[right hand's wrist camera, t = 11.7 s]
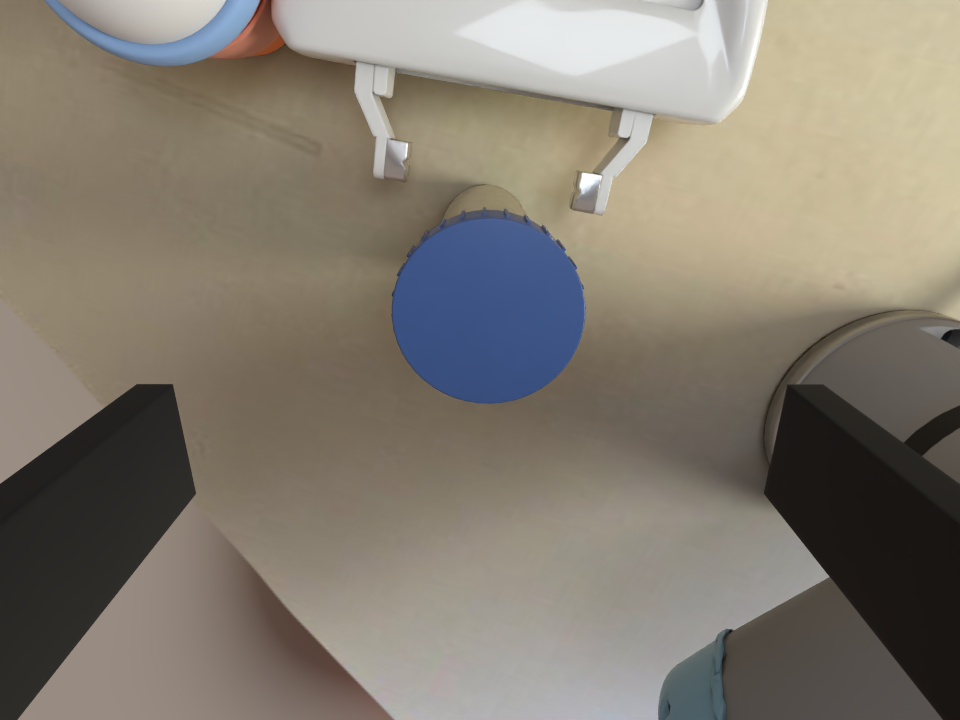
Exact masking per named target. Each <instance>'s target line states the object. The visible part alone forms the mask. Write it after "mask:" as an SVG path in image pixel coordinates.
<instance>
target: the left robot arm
mask: <svg viewBox="0 0 960 720" xmlns="http://www.w3.org/2000/svg"><path fill="white" fill-rule="evenodd" d="M767 3H768V0H271V16H272V21H273V23H274V25H275V27H276V29H277V31H278V33H279V34H280V36H281V37H282V39H283V40H284V42H285V43H286V45H287V46H288V47H289V48H290V49H292V50H294V51H295V52H297V53H299V54H302V55H305V56H307V57H311V58H316V59H321V60H327V61H333V62H338V63H344V64H350V65H355V66H356V70H355V84H354V92H355V95H356V97H357V99H358V102H359V104H360V106H361V109H362V111H363V113H364V116H365V118H366V120H367V123H368V125H369V128H370V130H371V132H372V135H373V136H375V137H376V141H375V153H374V164H373V176H374V177H375V178H380V179H386V180H393V181H400V182H405V181H407V180H408V175H409V167H410V166H409V164H408V162H407V160H408V159H409V158H410V157H411V149H412V142H407V141H402V140H397V139H394V138H395V136H394V133H393V130H392V128H391V125H390V123H389V120H388V118H387V115H386V112H385V110H384V107H383V105H382V102H381V100H380V96H381V97H384V98H391V97H392V96H393V87H394V78H395V73H400V74H406V75H412V76H417V77H423V78H429V79H434V80H440V81H446V82H451V83H457V84H462V85H468V86H474V87H479V88H485V89H491V90H496V91H502V92H508V93H513V94H519V95H524V96H530V97H536V98H541V99H547V100H553V101H558V102H564V103H570V104H575V105H581V106H586V107H592V108H598V109H603V110H609V111H613V112H612V117H611V121H610V126H609V131H608V135H609V137H613V138H619V140H618V141H617V142H616V144H615V145H614V146H613V147H612V149H611V150H610V151H609V152H608V153H607V155H606V156H605V157H604V158H603V160H602V161H601V162H600V163H599V164H598V166H597V167H596V168H595V169H594V171H593V173H590V172H583V171H577V170H576V174H575V178H574V183H573V185H574V187H575V190H574V191H573V192H572V193H571V197H570V204H569V207H570V209H572V210H574V211H580V212H585V213H590V214H597V215H603V213H604V211H605V209H606V205H607V201H608V196H609V192H610V188H611V184H612V179H613V177H617V175H618V174H619V173H620V172H621V171H622V170H623V169H624V167H625V166H626V165H627V164H628V163H629V162H630V161H631V159H632V158H633V157H634V156H635V155H636V154H637V153H638V152H639V150H640V149H641V148H642V147H643V146H644V145H645V144H646V142H647V138H648V135H649V131H650V127H651V123H652V119H653V118H654V119H660V120H665V121H671V122H677V123H683V124H688V125H702V126H704V125H713V124H717V123H719V122H721V121H722V120H723V119H725V118H726V117H727V116H728V115H729V114H730V113H732V112H733V111H734V110H735V109H736V108H737V107H738V106H739V105H740V103H741V102H742V100H743V98H744V96H745V93H746V90H747V87H748V84H749V81H750V77H751V74H752V70H753V67H754V63H755V59H756V55H757V51H758V47H759V43H760V38H761V34H762V29H763V24H764V19H765V14H766V9H767Z"/></svg>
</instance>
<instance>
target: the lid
mask: <svg viewBox="0 0 960 720" xmlns="http://www.w3.org/2000/svg"><path fill="white" fill-rule="evenodd" d="M565 250H566V249H565V248H564V246H563V245H562V244H561V242H560V241H559V240H555V239H554V238H553V237H552V236H551V235H550V233H549V232H548V230H547V229H546V227H545V226H543V225H542V227H540V226H539V225H537V224H536V223H534V222H533V221H531V220H529V218H528V216H527V215H524V217H523V216H520V215H517V214H514V213H511V212H508V210H507V209H504V211H500V210H486V207H483V210H476V211H470V212H466V213H465V210H464V211H462V212H461V214H459V215H457V216H454V217H451V218H449V219H447V220H446V219H445V218H444V219H442V221H441V223H440V224H439V225H437V226H436V227H435V228H433V229H432V230H431V231H428V230H427V231H426V232H425V233H424V235H423V237H422V238H421V241H420V242H419V243H418V244H417V246H414V245H413V247H412V248H411V250H410V251H409V253H408V255H407V257H408V260H407V262H406V263H404V264H403V265H402V267H401V268H400V270H399V272H398V274H397V276H399V277H398V280H397V282H396V286H395V289H394V291H393V293H392V296H393V301H392V321H393V328H394V332H395V336H396V339H397V342H398V345H399V347H400V349H401V351H402V353H403V355H404V357H405V358H406V360H407V362H408V363H409V364H410V366H411V367H412V368H413V369H414V371H415V372H416V373H417V374H418V375H419V376H420V377H421V378H422V379H423V380H425V381H426V382H427V383H429V384H430V385H431V386H433V387H434V388H436V389H437V390H439V391H441V392H443V393H445V394H447V395H449V396H452V397H454V398H457V399H461V400H464V401H468V402H475V403H489V404H490V403H502V402H507V401H512V400H516V399H519V398H522V397H525V396H527V395H529V394H531V393H534V392H536V391H537V390H539V389H540V388H542V387H544V386H545V385H547V384H548V383H549V382H550V381H552V380H553V379H554V378H555V377H556V376H557V375H558V374H559V373H560V372H561V371H562V370H563V369H564V368H565V366H566V365H567V364H568V362H569V361H570V359H571V358H572V356H573V354H574V352H575V351H576V349H577V346H578V344H579V341H580V339H581V335H582V331H583V327H584V320H585V299H584V293H583V289H584V287H583V285H582V283H581V282H580V279H579V276H578V274H577V272H576V270H575V269H577V267H576V265H575V264H574V262H573V261H572V259H571V258H570V257H568V256H567V255H566V254H565V252H564V251H565Z"/></svg>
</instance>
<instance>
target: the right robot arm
mask: <svg viewBox="0 0 960 720" xmlns="http://www.w3.org/2000/svg"><path fill="white" fill-rule="evenodd" d="M764 436H765V450H766V455H767V459H768V462H769V464H770V468H769V473H768V477H767V482H766V487H765V491H764V494H765V495H766V497H767V498H768V499H769V501H770V502H771V503H772V504H773V506H774V507H775V508H776V509H777V511H778V512H779V513H780V514H781V516H782V517H783V518H784V519H785V521H786V522H787V523H788V525H789V526H790V527H791V528H792V530H793V531H794V532H795V533H796V535H797V536H798V537H799V538H800V540H801V541H802V542H803V544H804V545H805V546H806V547H807V549H808V550H809V551H810V552H811V554H812V555H813V556H814V557H815V559H816V560H817V561H818V563H819V564H820V565H821V566H822V568H823V569H824V570H825V571H826V573H827V574H828V575H829V576H830V577H829V578H827V579H826V580H824V581H822V582H820V583H818V584H817V585H815V586H813V587H811V588H809V589H808V590H806V591H804V592H802V593H800V594H799V595H797V596H795V597H793V598H791V599H790V600H788V601H786V602H784V603H782V604H781V605H779V606H777V607H775V608H773V609H772V610H770V611H768V612H766V613H764V614H763V615H761V616H759V617H757V618H756V619H754V620H752V621H750V622H748V623H747V624H745V625H743V626H741V627H739V628H738V629H736V630H732V629H730V630H729V629H725V630H724V631H722V632H720V633H719V634H718V636H717V638H716V640H715V641H714V642H712V643H711V644H709V645H707V646H706V647H704V648H703V649H701V650H700V651H698V652H696V653H695V654H693V655H692V656H690V657H689V658H687V659H685V660H684V661H682V662H681V663H679V664H678V665H676V666H675V667H674V668H673V669H672V670H671V671H670V672H669V674H668V675H667V677H666V679H665V681H664V683H663V686H662V689H661V693H660V698H659V707H658V716H659V720H960V321H958V320H956V319H953V318H950V317H947V316H944V315H941V314H938V313H933V312H927V311H918V310H903V311H892V312H886V313H881V314H877V315H873V316H869V317H866V318H863V319H861V320H858V321H855V322H853V323H851V324H848V325H846V326H844V327H842V328H840V329H838V330H837V331H835V332H833V333H831V334H830V335H828V336H827V337H825V338H824V339H822V340H821V341H820V342H818V343H817V344H816V345H814V346H813V347H812V348H811V349H810V350H808V351H807V352H806V353H805V354H804V355H803V356H802V357H801V358H800V359H799V360H798V361H797V362H796V363H795V364H794V366H793V367H792V368H791V369H790V371H789V372H788V373H787V375H786V376H785V378H784V379H783V380H782V382H781V383H780V385H779V387H778V389H777V391H776V393H775V395H774V397H773V399H772V402H771V404H770V407H769V410H768V414H767V418H766V423H765V433H764ZM195 494H196V491H195V487H194V482H193V477H192V473H191V468H190V463H189V458H188V454H187V449H186V444H185V440H184V435H183V430H182V426H181V421H180V416H179V412H178V407H177V402H176V397H175V393H174V388H173V384H137V385H135V386H134V387H133V388H131V389H130V390H128V391H127V392H126V393H124V394H123V395H122V396H120V397H119V398H117V399H116V400H115V401H113V402H112V403H111V404H109V405H108V406H106V407H105V408H104V409H102V410H101V411H100V412H98V413H97V414H95V415H94V416H93V417H91V418H90V419H89V420H87V421H86V422H85V423H83V424H82V425H80V426H79V427H78V428H76V429H75V430H74V431H72V432H71V433H69V434H68V435H67V436H65V437H64V438H63V439H61V440H60V441H58V442H57V443H56V444H54V445H53V446H52V447H50V448H49V449H47V450H46V451H45V452H43V453H42V454H41V455H39V456H38V457H37V458H35V459H34V460H32V461H31V462H30V463H28V464H27V465H26V466H24V467H23V468H21V469H20V470H19V471H17V472H16V473H15V474H13V475H12V476H10V477H9V478H8V479H6V480H5V481H4V482H2V483H1V484H0V720H17V719H18V718H19V717H20V716H21V714H22V713H23V712H24V710H25V709H26V708H27V707H28V706H29V704H30V703H31V702H32V700H33V699H34V698H35V697H36V695H37V694H38V693H39V692H40V690H41V689H42V688H43V686H44V685H45V684H46V683H47V681H48V680H49V679H50V678H51V676H52V675H53V674H54V673H55V671H56V670H57V669H58V668H59V666H60V665H61V664H62V662H63V661H64V660H65V659H66V657H67V656H68V655H69V654H70V652H71V651H72V650H73V649H74V647H75V646H76V645H77V643H78V642H79V641H80V640H81V638H82V637H83V636H84V635H85V633H86V632H87V631H88V630H89V628H90V627H91V626H92V624H93V623H94V622H95V621H96V619H97V618H98V617H99V616H100V614H101V613H102V612H103V611H104V609H105V608H106V607H107V606H108V604H109V603H110V602H111V600H112V599H113V598H114V597H115V595H116V594H117V593H118V592H119V590H120V589H121V588H122V587H123V585H124V584H125V583H126V581H127V580H128V579H129V578H130V576H131V575H132V574H133V573H134V571H135V570H136V569H137V568H138V566H139V565H140V564H141V563H142V561H143V560H144V559H145V557H146V556H147V555H148V554H149V552H150V551H151V550H152V549H153V547H154V546H155V545H156V544H157V542H158V541H159V540H160V538H161V537H162V536H163V535H164V533H165V532H166V531H167V530H168V528H169V527H170V526H171V525H172V523H173V522H174V521H175V519H176V518H177V517H178V516H179V514H180V513H181V512H182V511H183V509H184V508H185V507H186V506H187V504H188V503H189V502H190V501H191V499H192V498H193V497H194V495H195Z"/></svg>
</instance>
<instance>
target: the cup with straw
mask: <svg viewBox="0 0 960 720" xmlns="http://www.w3.org/2000/svg"><path fill="white" fill-rule="evenodd" d="M45 2H46V3H47V4H48V5H49V6H50V7H51V8H52V10H53V11H54V12H55V13H56V14H57V15H58V16H59V17H60V18H61V19H62V20H63V21H64V22H65V23H66V24H67V25H69V26H70V27H71V28H72V29H73V30H75V31H76V32H77V33H78V34H80V35H81V36H82V37H84V38H85V39H87V40H88V41H90V42H91V43H93V44H94V45H96V46H98V47H100V48H101V49H103V50H105V51H107V52H109V53H111V54H114V55H116V56H118V57H121V58H124V59H126V60H129V61H133V62H137V63H141V64H146V65H152V66H181V65H186V64H191V63H194V62H198V61H201V60H203V59H206V58H221V59H238V58H243V57H248V56H260V55H265V54H268V53H271V52H273V51H275V50H277V49H279V48H280V47H282V46H283V45H284V44H285V42H284V40H283V39H282V37H281V36H280V34H279V33H278V31H277V29H276V27H275V25H274V23H273V21H272V16H271V0H45Z"/></svg>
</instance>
